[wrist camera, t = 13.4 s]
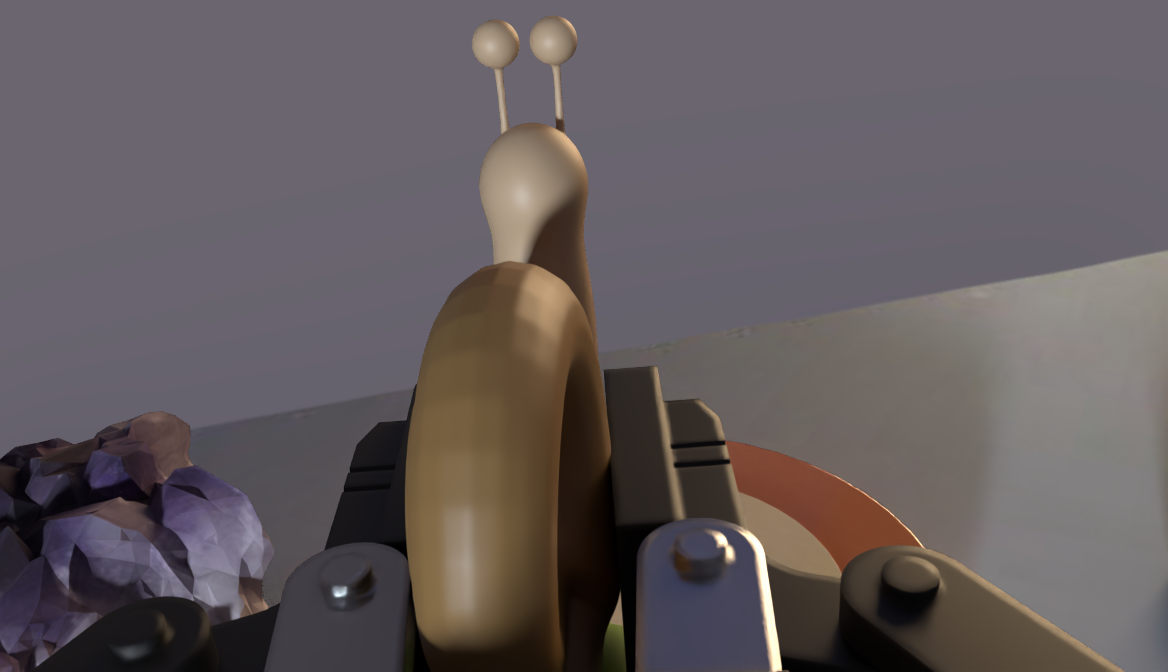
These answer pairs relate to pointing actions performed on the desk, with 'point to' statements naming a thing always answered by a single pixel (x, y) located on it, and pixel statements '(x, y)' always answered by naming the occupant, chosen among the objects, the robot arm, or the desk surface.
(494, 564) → the snail figurine
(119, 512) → the geode
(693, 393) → the desk surface
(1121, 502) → the desk surface
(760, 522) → the plate
